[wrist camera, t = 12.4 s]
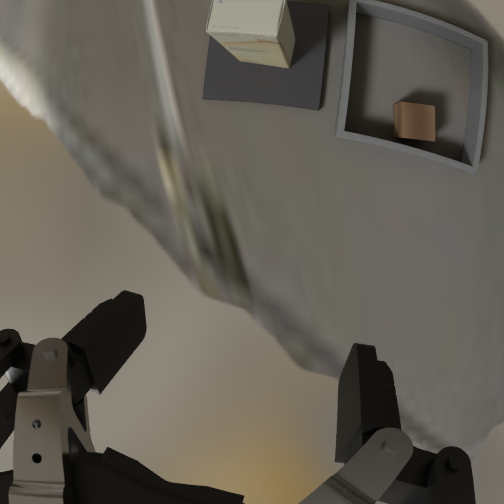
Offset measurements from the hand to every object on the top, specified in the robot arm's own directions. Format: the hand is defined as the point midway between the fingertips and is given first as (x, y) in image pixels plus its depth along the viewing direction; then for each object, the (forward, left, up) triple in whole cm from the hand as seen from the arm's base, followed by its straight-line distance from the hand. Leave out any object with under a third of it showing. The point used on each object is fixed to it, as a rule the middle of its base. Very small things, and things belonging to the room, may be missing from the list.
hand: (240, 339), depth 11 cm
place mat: (+6, -17, -28) cm, 33 cm away
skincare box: (+6, -17, -28) cm, 33 cm away
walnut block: (-12, -11, -28) cm, 33 cm away
